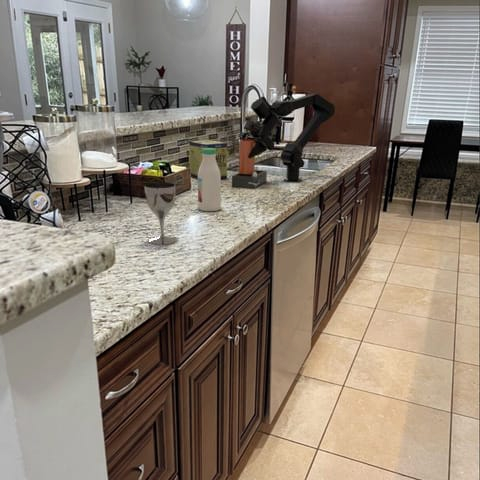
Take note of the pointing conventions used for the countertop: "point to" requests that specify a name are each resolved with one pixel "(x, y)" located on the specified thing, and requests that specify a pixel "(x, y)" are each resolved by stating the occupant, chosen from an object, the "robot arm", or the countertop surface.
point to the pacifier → (254, 176)
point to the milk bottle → (209, 182)
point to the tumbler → (246, 156)
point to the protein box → (197, 157)
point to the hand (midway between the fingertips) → (244, 156)
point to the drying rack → (248, 179)
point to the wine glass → (160, 206)
